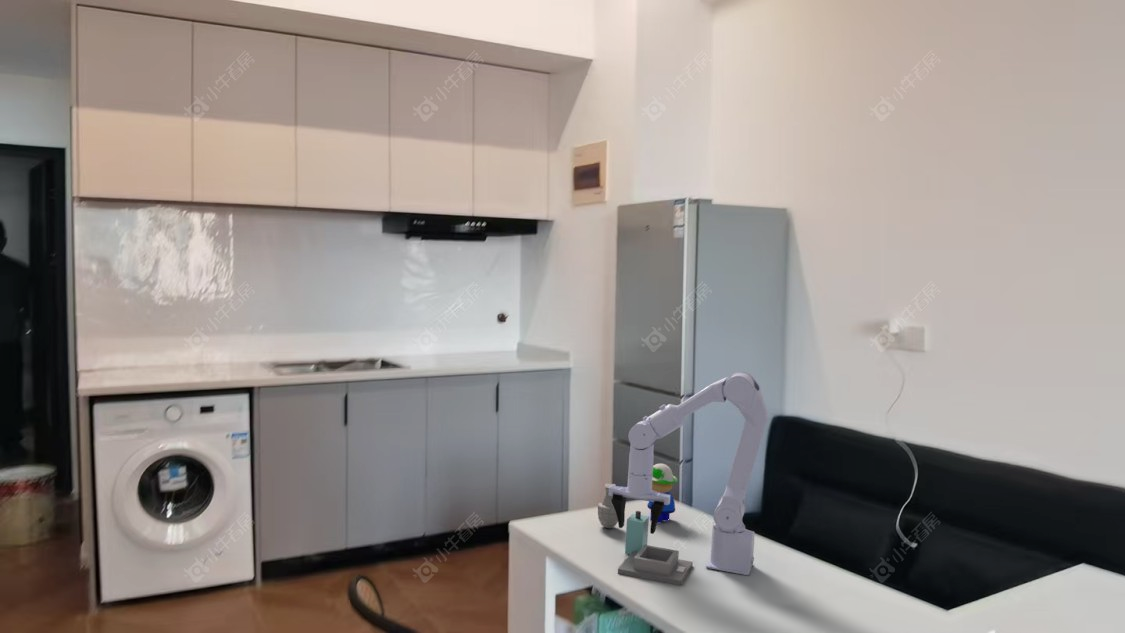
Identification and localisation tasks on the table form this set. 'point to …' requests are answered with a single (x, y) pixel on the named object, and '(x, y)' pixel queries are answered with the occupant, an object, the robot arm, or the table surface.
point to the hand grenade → (607, 510)
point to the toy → (663, 488)
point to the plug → (636, 532)
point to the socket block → (656, 565)
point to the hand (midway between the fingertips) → (636, 529)
